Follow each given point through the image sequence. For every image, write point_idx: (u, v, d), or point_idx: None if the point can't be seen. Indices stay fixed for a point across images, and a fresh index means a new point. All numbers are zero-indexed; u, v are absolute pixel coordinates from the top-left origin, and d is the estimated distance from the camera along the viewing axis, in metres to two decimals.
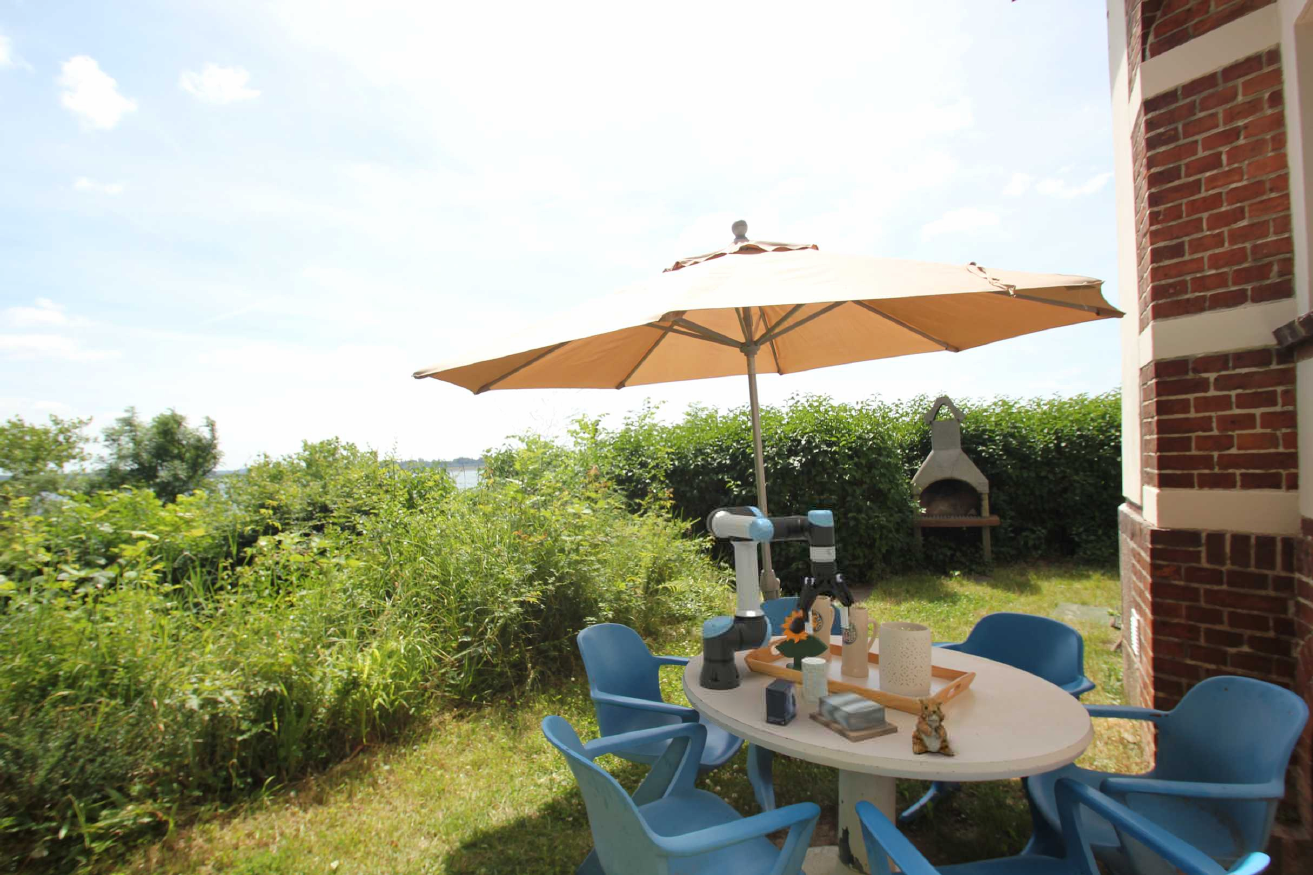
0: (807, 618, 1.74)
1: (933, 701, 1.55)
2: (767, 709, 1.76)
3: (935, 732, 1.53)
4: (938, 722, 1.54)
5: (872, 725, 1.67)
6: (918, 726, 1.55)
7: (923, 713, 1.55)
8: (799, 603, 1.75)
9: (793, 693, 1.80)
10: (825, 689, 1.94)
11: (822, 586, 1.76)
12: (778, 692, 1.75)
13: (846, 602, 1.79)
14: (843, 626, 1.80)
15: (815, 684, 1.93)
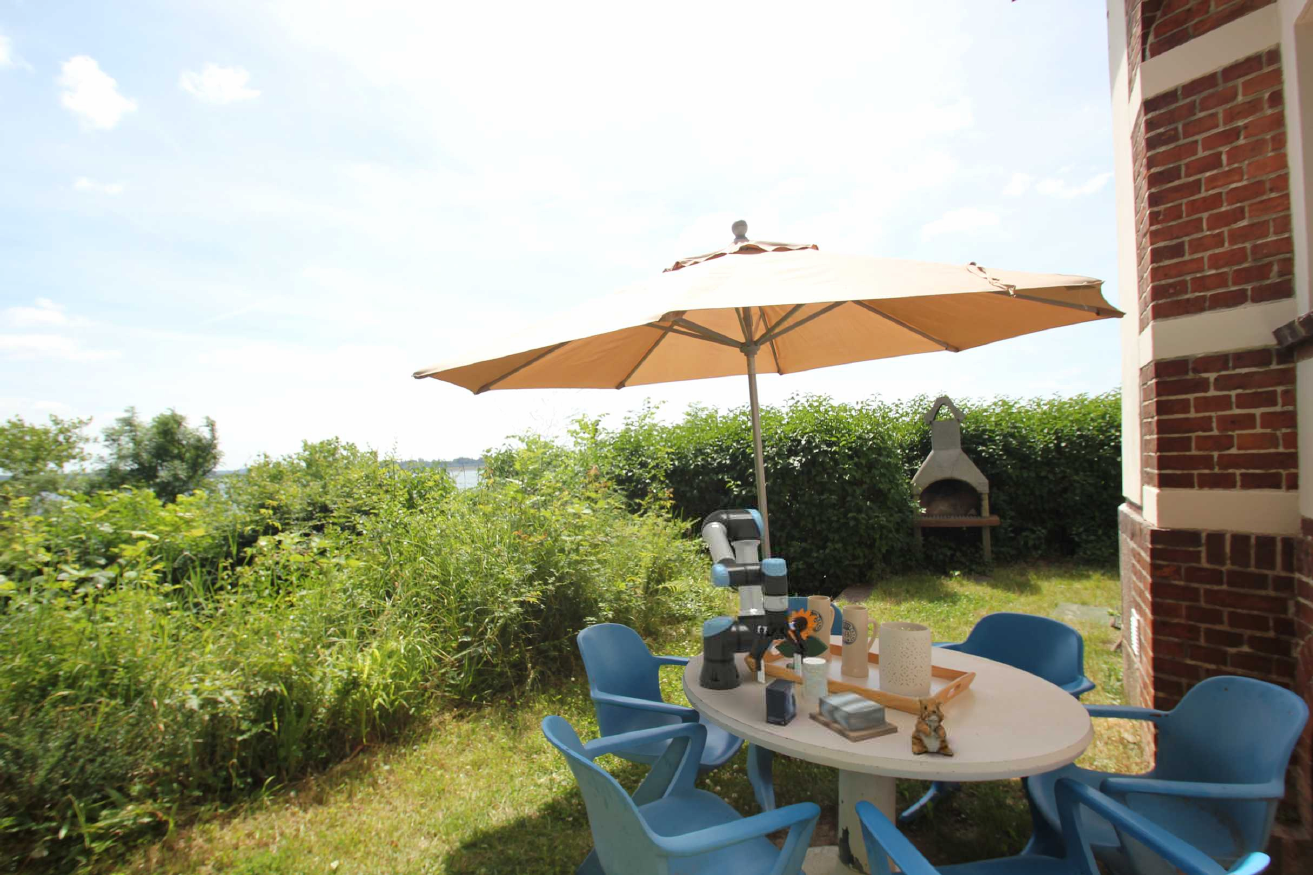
0: (759, 667, 1.77)
1: (932, 701, 1.55)
2: (767, 709, 1.76)
3: (934, 732, 1.53)
4: (937, 722, 1.54)
5: (872, 725, 1.67)
6: (917, 726, 1.55)
7: (922, 713, 1.55)
8: (751, 652, 1.77)
9: (793, 693, 1.80)
10: (825, 689, 1.94)
11: (774, 635, 1.79)
12: (778, 692, 1.75)
13: (799, 650, 1.82)
14: (797, 674, 1.82)
15: (815, 684, 1.93)
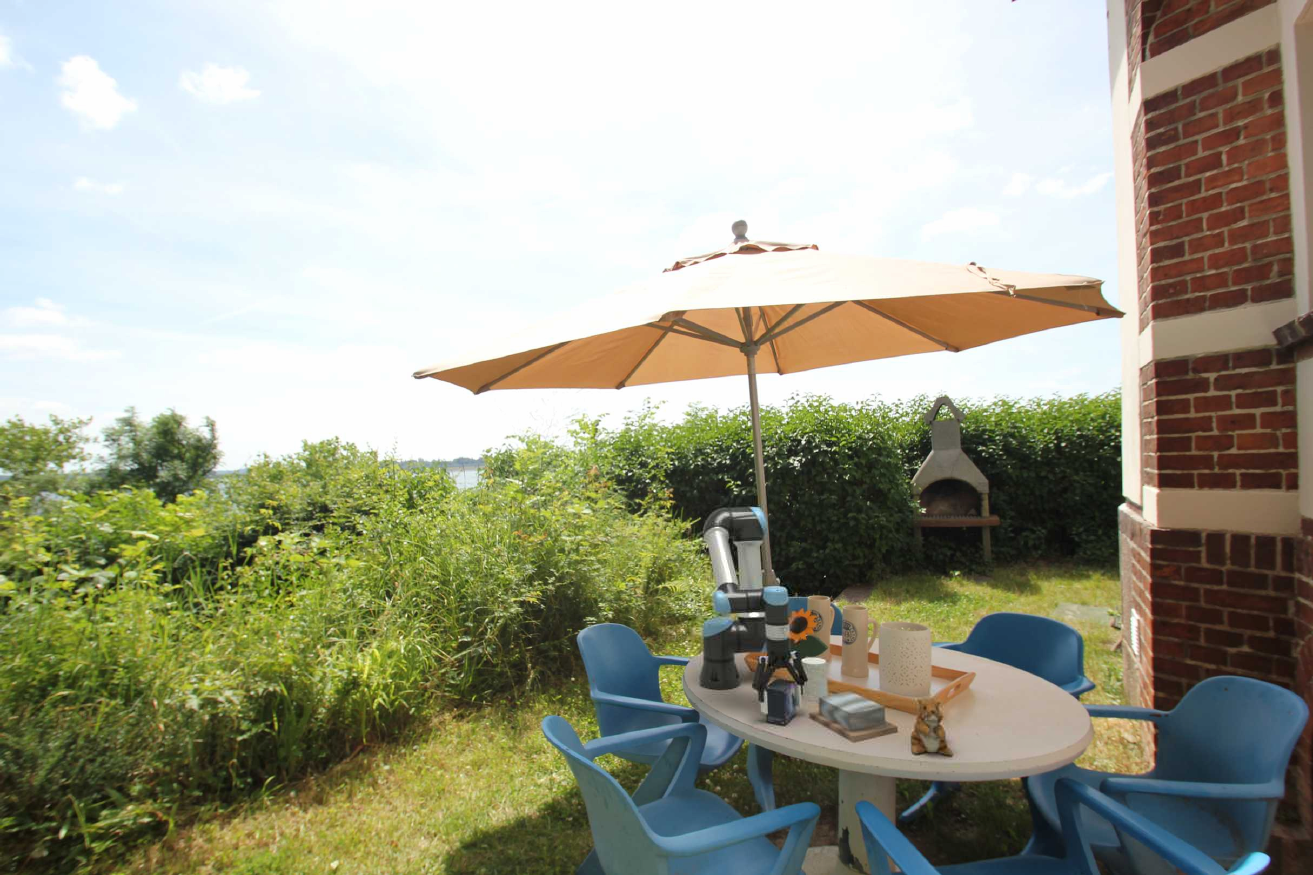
0: (762, 698, 1.76)
1: (932, 701, 1.55)
2: None
3: (934, 732, 1.53)
4: (937, 722, 1.54)
5: (872, 725, 1.67)
6: (917, 726, 1.55)
7: (922, 713, 1.55)
8: (754, 683, 1.77)
9: (793, 693, 1.80)
10: (825, 689, 1.94)
11: (776, 664, 1.78)
12: (777, 692, 1.75)
13: (799, 680, 1.81)
14: (796, 704, 1.82)
15: (815, 684, 1.93)
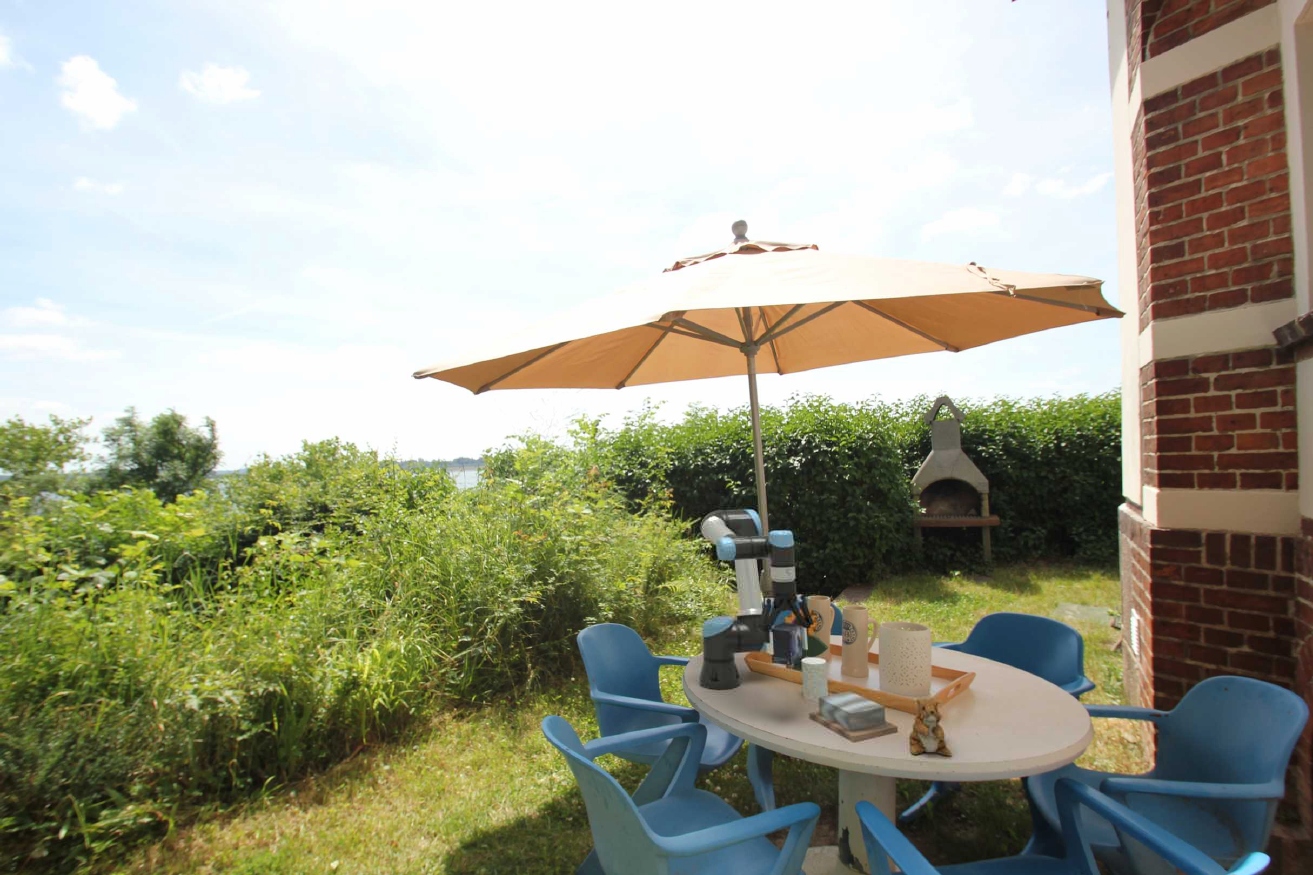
0: (768, 639, 1.77)
1: (930, 702, 1.54)
2: (773, 650, 1.77)
3: (932, 733, 1.53)
4: (935, 723, 1.53)
5: (872, 725, 1.67)
6: (915, 727, 1.55)
7: (920, 714, 1.55)
8: (760, 624, 1.78)
9: (799, 635, 1.81)
10: (825, 689, 1.94)
11: (782, 606, 1.79)
12: (783, 632, 1.76)
13: (805, 623, 1.82)
14: (802, 647, 1.82)
15: (815, 684, 1.93)
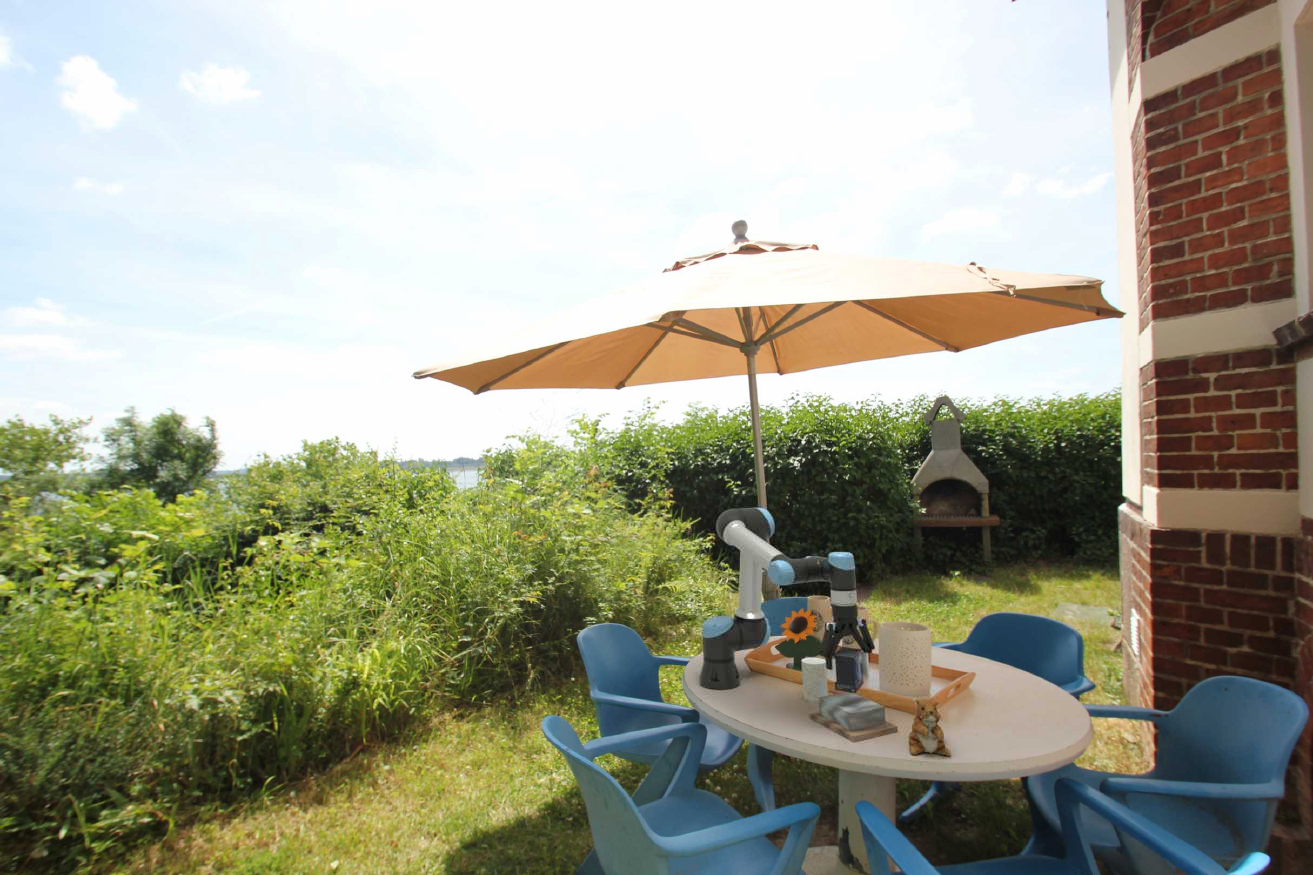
0: (830, 665, 1.71)
1: (930, 702, 1.54)
2: None
3: (932, 733, 1.53)
4: (935, 723, 1.53)
5: (872, 725, 1.67)
6: (915, 727, 1.55)
7: (920, 714, 1.54)
8: (822, 650, 1.72)
9: (861, 661, 1.75)
10: (825, 689, 1.94)
11: (844, 631, 1.73)
12: (847, 658, 1.70)
13: (867, 648, 1.76)
14: (863, 673, 1.77)
15: (815, 684, 1.93)
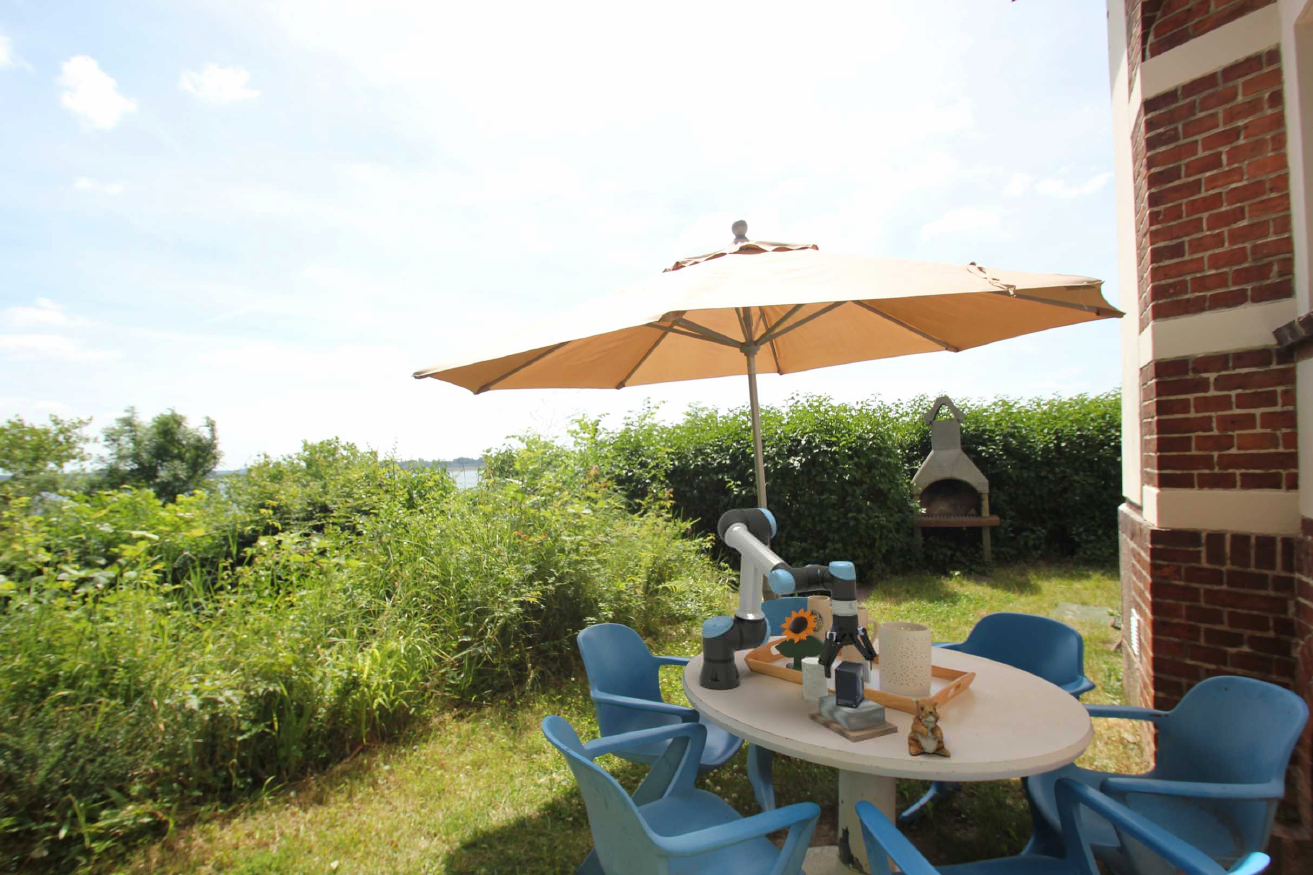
0: (829, 674, 1.71)
1: (929, 702, 1.54)
2: (837, 691, 1.71)
3: (931, 733, 1.53)
4: (934, 723, 1.53)
5: (872, 725, 1.67)
6: (914, 727, 1.54)
7: (919, 714, 1.54)
8: (821, 658, 1.71)
9: (862, 675, 1.75)
10: (825, 689, 1.94)
11: (844, 641, 1.73)
12: (848, 673, 1.70)
13: (868, 656, 1.76)
14: (865, 680, 1.77)
15: (815, 684, 1.93)
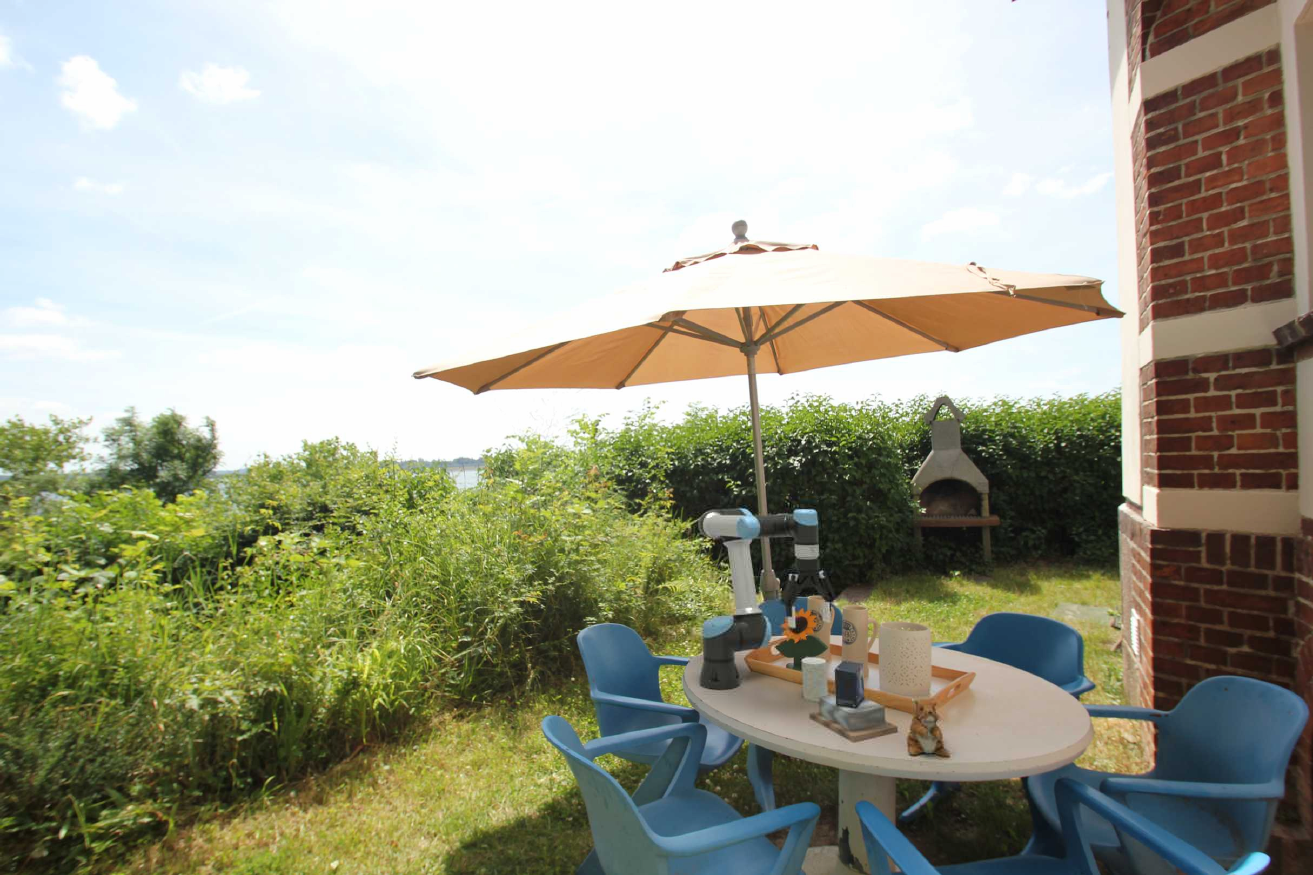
0: (790, 613, 1.82)
1: (928, 702, 1.54)
2: (837, 691, 1.71)
3: (930, 733, 1.52)
4: (933, 723, 1.53)
5: (872, 725, 1.67)
6: (913, 727, 1.54)
7: (918, 714, 1.54)
8: (783, 598, 1.82)
9: (862, 675, 1.75)
10: (825, 689, 1.94)
11: (805, 582, 1.84)
12: (848, 673, 1.70)
13: (828, 597, 1.87)
14: (825, 620, 1.88)
15: (815, 684, 1.93)
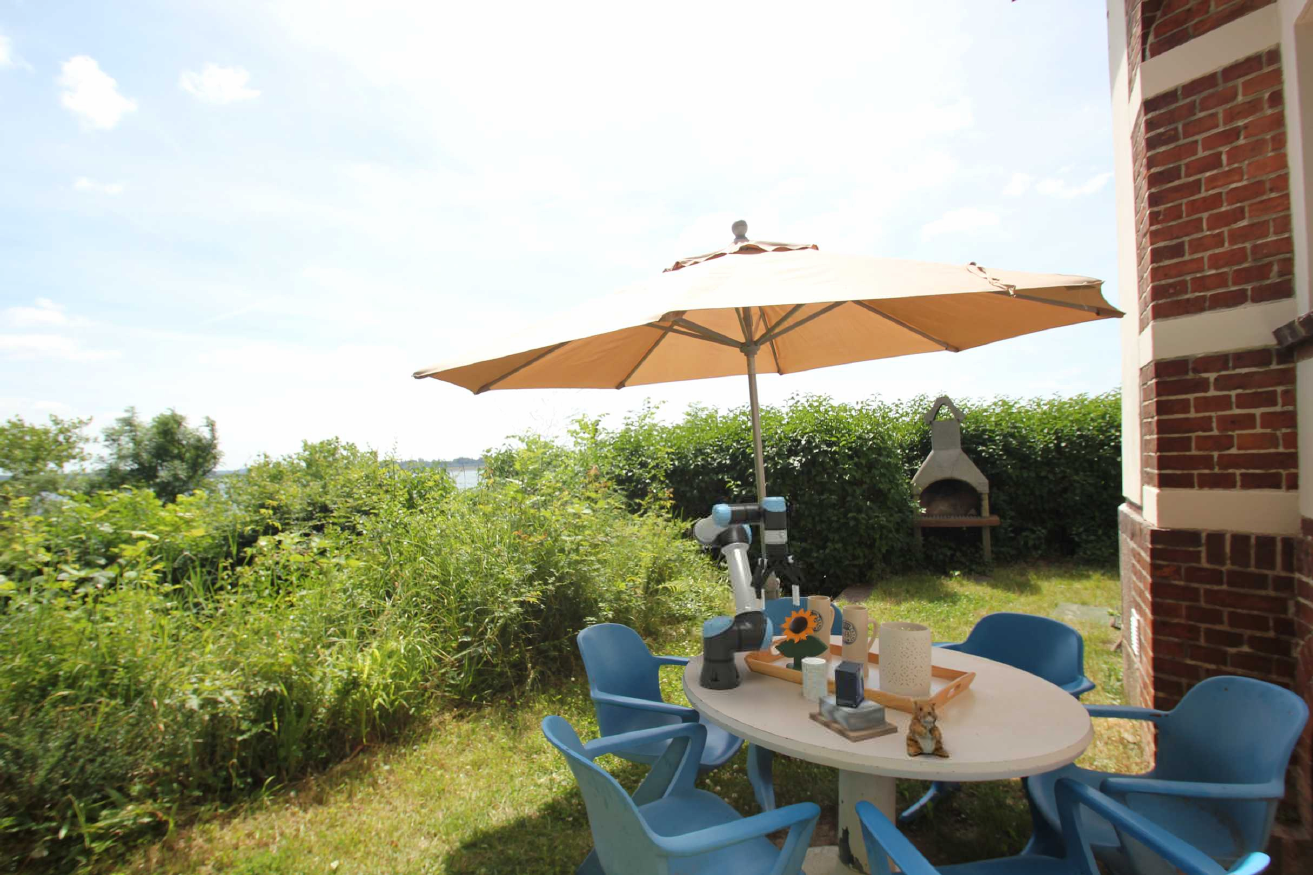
0: (760, 595, 1.90)
1: (927, 702, 1.54)
2: (837, 691, 1.71)
3: (930, 733, 1.52)
4: (932, 723, 1.53)
5: (872, 725, 1.67)
6: (913, 728, 1.54)
7: (918, 714, 1.54)
8: (753, 581, 1.91)
9: (862, 675, 1.75)
10: (825, 689, 1.94)
11: (774, 566, 1.92)
12: (848, 673, 1.70)
13: (797, 581, 1.95)
14: (794, 603, 1.96)
15: (815, 684, 1.93)
